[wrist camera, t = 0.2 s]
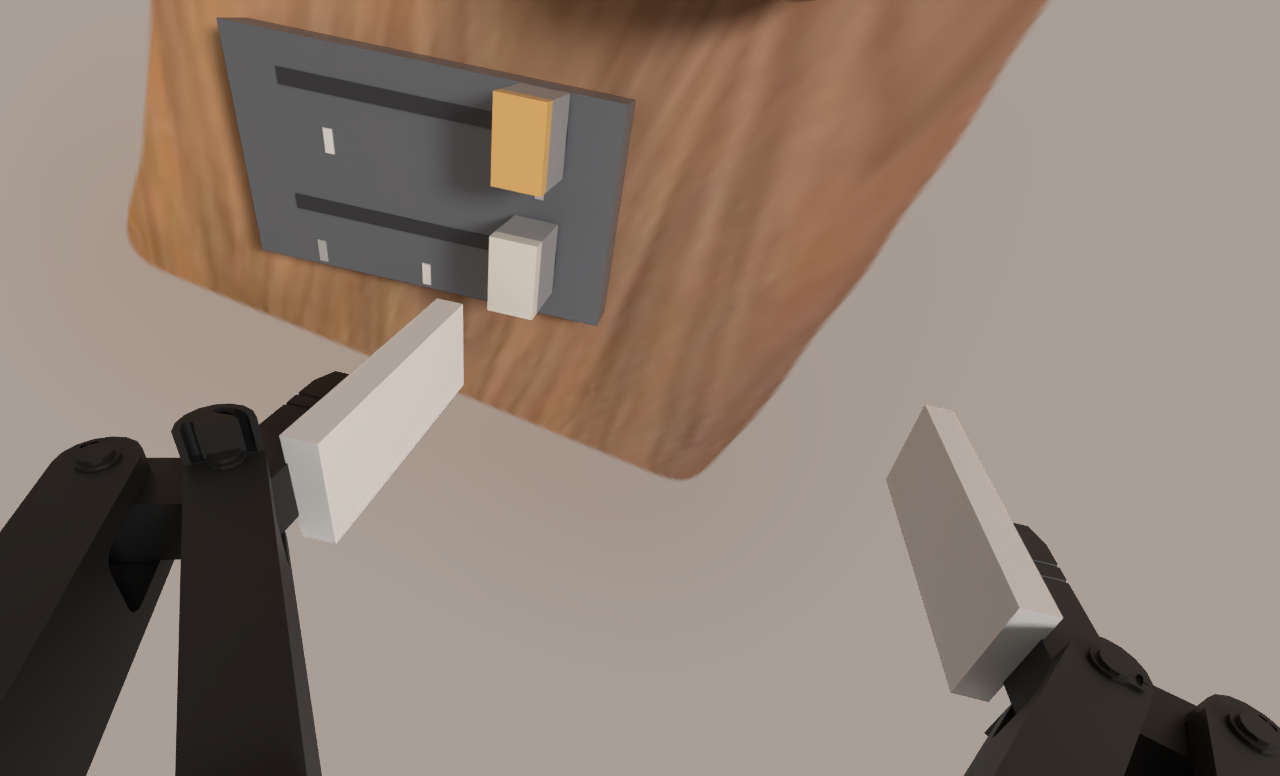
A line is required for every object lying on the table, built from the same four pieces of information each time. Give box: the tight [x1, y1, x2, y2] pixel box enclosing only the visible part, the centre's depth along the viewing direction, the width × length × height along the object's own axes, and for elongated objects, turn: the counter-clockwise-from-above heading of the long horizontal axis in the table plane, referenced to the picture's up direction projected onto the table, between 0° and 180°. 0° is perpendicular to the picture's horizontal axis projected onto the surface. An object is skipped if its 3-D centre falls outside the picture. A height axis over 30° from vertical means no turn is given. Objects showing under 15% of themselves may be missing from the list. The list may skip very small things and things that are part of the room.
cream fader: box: [487, 215, 558, 320], centre depth 39 cm, size 5×3×5 cm, turn 170°
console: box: [217, 18, 635, 326], centre depth 40 cm, size 15×26×3 cm, turn 80°
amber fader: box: [490, 83, 570, 197], centre depth 34 cm, size 5×3×5 cm, turn 170°
